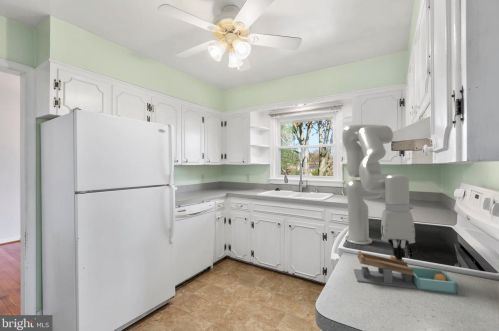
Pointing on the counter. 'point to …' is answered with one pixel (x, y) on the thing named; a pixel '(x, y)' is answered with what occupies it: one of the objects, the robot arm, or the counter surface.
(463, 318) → the counter surface
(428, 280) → the dish
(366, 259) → the seesaw lever
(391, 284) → the lever stand
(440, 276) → the ball
